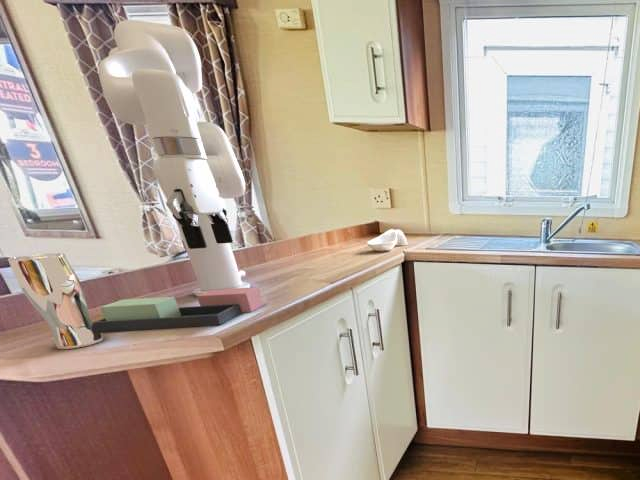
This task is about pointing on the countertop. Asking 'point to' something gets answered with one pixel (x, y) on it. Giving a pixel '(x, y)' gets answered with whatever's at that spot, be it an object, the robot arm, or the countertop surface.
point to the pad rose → (233, 298)
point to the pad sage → (141, 309)
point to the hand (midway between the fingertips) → (212, 245)
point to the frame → (175, 319)
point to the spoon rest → (387, 240)
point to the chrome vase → (56, 298)
